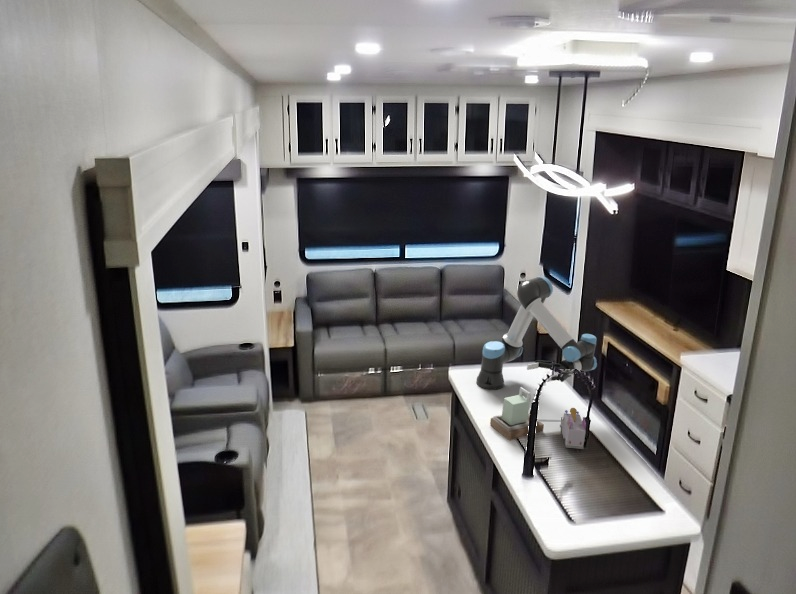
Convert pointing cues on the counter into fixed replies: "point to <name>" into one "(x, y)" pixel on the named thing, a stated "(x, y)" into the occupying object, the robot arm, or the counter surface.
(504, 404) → the trolley
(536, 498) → the counter surface
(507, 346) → the robot arm
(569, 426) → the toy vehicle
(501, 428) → the tray
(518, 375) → the counter surface
